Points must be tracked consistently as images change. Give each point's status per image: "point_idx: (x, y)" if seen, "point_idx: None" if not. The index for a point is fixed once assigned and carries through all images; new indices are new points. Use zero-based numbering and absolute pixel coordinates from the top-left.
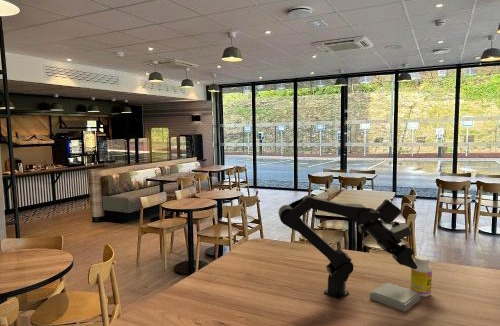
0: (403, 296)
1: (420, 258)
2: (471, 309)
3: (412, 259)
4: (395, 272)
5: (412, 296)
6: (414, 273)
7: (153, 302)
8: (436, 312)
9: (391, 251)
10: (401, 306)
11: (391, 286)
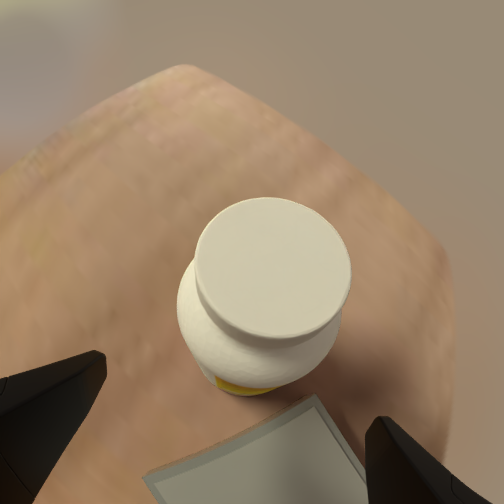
0: (337, 500)
1: (296, 293)
2: (396, 256)
3: (468, 494)
4: (33, 291)
5: (348, 460)
6: (270, 388)
7: None
8: (408, 393)
9: (22, 487)
10: None
11: (210, 499)
